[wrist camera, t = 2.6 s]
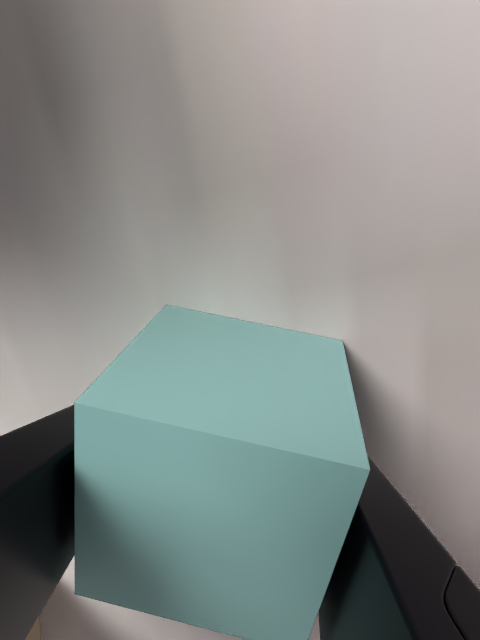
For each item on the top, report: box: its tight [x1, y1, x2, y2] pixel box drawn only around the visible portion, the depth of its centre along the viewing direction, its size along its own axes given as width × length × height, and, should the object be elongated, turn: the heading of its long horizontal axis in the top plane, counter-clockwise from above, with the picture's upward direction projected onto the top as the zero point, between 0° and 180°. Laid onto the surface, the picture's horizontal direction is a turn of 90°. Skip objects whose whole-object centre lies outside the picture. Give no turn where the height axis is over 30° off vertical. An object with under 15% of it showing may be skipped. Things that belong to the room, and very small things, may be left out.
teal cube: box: [74, 305, 370, 640], centre depth 8 cm, size 4×4×4 cm
